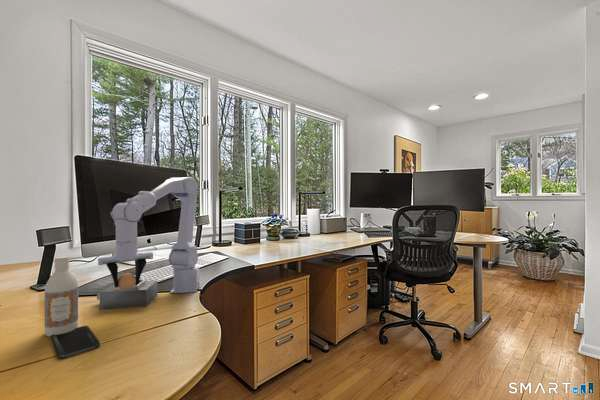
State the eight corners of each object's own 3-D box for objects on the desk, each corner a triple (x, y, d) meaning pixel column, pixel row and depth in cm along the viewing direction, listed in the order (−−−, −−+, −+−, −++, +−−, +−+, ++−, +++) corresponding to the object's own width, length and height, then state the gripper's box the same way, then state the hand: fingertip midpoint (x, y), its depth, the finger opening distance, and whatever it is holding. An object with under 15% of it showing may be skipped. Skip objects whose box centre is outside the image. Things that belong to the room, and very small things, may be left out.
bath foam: (42, 340, 71) (41, 261, 71) (47, 329, 77) (47, 256, 77) (76, 333, 75) (76, 257, 75) (79, 323, 81) (79, 253, 81)
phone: (58, 357, 62) (50, 334, 73) (58, 362, 62) (50, 338, 73) (101, 343, 68) (88, 324, 78) (101, 348, 68) (87, 328, 78)
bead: (138, 286, 91) (138, 271, 91) (132, 291, 86) (132, 275, 86) (121, 287, 90) (121, 271, 90) (114, 292, 85) (114, 276, 85)
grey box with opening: (157, 295, 104) (157, 277, 104) (146, 306, 94) (146, 286, 94) (106, 298, 102) (106, 279, 102) (89, 309, 91) (89, 289, 91)
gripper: (149, 237, 96) (149, 277, 96) (96, 242, 86) (97, 286, 86) (154, 240, 90) (154, 282, 90) (99, 245, 81) (99, 292, 81)
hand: (126, 284), depth 88 cm, fingers closed on bead, 5 cm apart
